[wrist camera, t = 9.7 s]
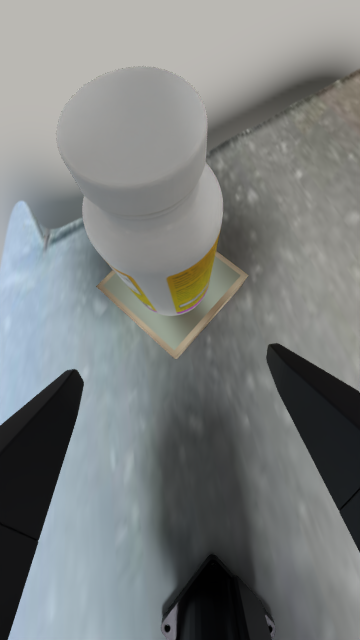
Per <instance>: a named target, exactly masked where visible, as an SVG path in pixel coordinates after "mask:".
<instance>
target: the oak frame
mask: <svg viewBox="0 0 360 640" xmlns="http://www.w3.org/2000/svg"><path fill="white" fill-rule="evenodd" d="M247 277H248V275H247V274H246V273H245V272H243V271H242V270H241V269H239V268H238V267H237V266H235V265H234V264H233V263H232V262H230V261H229V260H228V259H226V258H225V257H224V256H222V255H221V254H220V253H218V252H217V251H216V253H215V258H214V263H213V268H212V272H211V277H210V282H209V286H208V290H207V292H206V294H205V296H204V298H203V300H202V301H201V302H200V303H199V304H198V305H197V306H196V307H195V308H194V309H192V310H191V311H189V312H187V313H184V314H181V315H176V316H165V315H161V314H158V313H155V312H153V311H151V310H150V309H148V308H147V307H146V306H145V305H144V304H143V303H142V302H141V301H140V300H139V299H138V298H137V297H136V295H135V294H134V293H133V292H132V291H131V290H130V289H129V287H128V286H127V285H126V284H125V283H124V281H123V280H122V279H121V278H120V277H119V276H118V275H117V273H116V272H115V271H114V270H112V271H111V272H110V273H109V274H108V275H107V276H106V277H105V278H104V279H103V280H102V281H101V282H100V283H99V284H98V285H97V286H96V287H97V288H98V289H100V290H101V291H102V292H103V293H104V294H105V295H106V296H107V297H108V298H109V299H110V300H111V301H113V302H114V303H115V304H116V305H117V306H118V307H119V308H120V309H121V310H122V311H123V312H125V313H126V314H127V315H128V316H129V317H130V318H131V319H132V320H133V321H134V322H135V323H136V324H138V325H139V326H140V327H141V328H142V329H143V330H144V331H145V332H146V333H147V334H148V335H150V336H151V337H152V338H153V339H154V340H155V341H156V342H157V343H158V344H159V345H160V346H161V347H163V348H164V349H165V350H166V351H167V352H168V353H169V354H170V355H171V356H172V357H173V358H174V359H178V357H179V356H180V355H181V354H182V353H183V352H184V351H185V350H186V348H187V347H188V346H189V345H190V344H191V343H192V342H193V340H194V339H195V338H196V337H197V336H198V335H199V334H200V332H201V331H202V330H203V329H204V328H205V327H206V326H207V325H208V323H209V322H210V321H211V320H212V319H213V318H214V317H215V315H216V314H217V313H218V312H219V311H220V310H221V309H222V308H223V306H224V305H225V304H226V303H227V302H228V301H229V300H230V298H231V297H232V296H233V295H234V294H235V293H236V292H237V291H238V289H239V288H240V287H241V286H242V284H243V283H244V281H245V280H246V278H247Z"/></svg>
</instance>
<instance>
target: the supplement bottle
mask: <svg viewBox="0 0 360 640" xmlns="http://www.w3.org/2000/svg"><path fill="white" fill-rule="evenodd" d="M57 145H58V149H59V152H60V155H61V157H62V159H63V161H64V163H65V165H66V166H67V168H68V169H69V171H70V173H71V174H72V176H73V178H74V179H75V181H76V183H77V185H78V187H79V188H80V190H81V192H82V193H83V194H84V199H83V207H82V213H83V222H84V226H85V229H86V232H87V235H88V238H89V239H90V241H91V243H92V245H93V246H94V248H95V249H96V250H97V252H98V253H99V254H100V255H101V256H102V258H103V259H104V260H105V261H106V262H107V263H108V264H109V266H110V267H111V268H112V269H113V270H114V271H115V272H116V273H117V275H118V276H119V277H120V278H121V279H122V280H123V281H124V283H125V284H126V285H127V286H128V287H129V289H130V290H131V291H132V292H133V293H134V294H135V295H136V297H137V298H138V299H139V300H140V301H141V302H142V303H143V304H144V305H145V306H146V307H147V308H148V309H150V310H151V311H153V312H155V313H158V314H161V315H165V316H176V315H181V314H184V313H187V312H189V311H191V310H192V309H194V308H195V307H196V306H197V305H198V304H199V303H200V302H201V301H202V300H203V298H204V296H205V294H206V292H207V290H208V286H209V282H210V277H211V272H212V268H213V263H214V258H215V253H216V248H217V243H218V239H219V234H220V230H221V224H222V217H223V197H222V192H221V188H220V185H219V183H218V180H217V178H216V176H215V174H214V173H213V171H212V170H211V168H210V167H209V166H208V165H207V163H206V150H207V114H206V109H205V106H204V103H203V101H202V99H201V97H200V95H199V93H198V92H197V91H196V89H195V88H194V87H193V86H192V85H191V84H190V83H189V82H187V81H186V80H185V79H183V78H182V77H180V76H178V75H176V74H174V73H172V72H169V71H167V70H163V69H159V68H155V67H128V68H122V69H118V70H115V71H112V72H108V73H105V74H103V75H101V76H98V77H96V78H95V79H93V80H92V81H90V82H88V83H87V84H85V85H84V86H83V87H81V88H80V89H79V90H78V91H77V92H76V94H74V95H73V96H72V97H71V98H70V100H69V101H68V103H67V104H66V105H65V107H64V109H63V111H62V113H61V115H60V118H59V121H58V126H57Z"/></svg>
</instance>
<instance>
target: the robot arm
mask: <svg viewBox="0 0 360 640" xmlns="http://www.w3.org/2000/svg"><path fill="white" fill-rule="evenodd" d="M266 359H267V363H268V366H269V369H270V371H271V374H272V377H273V379H274V382H275V385H276V387H277V390H278V392H279V394H280V397H281V399H282V400H283V402H284V404H285V406H286V408H287V410H288V412H289V414H290V416H291V418H292V420H293V422H294V424H295V426H296V428H297V430H298V432H299V434H300V436H301V438H302V440H303V442H304V444H305V446H306V447H307V449H308V451H309V453H310V455H311V457H312V459H313V461H314V463H315V465H316V467H317V469H318V471H319V473H320V475H321V477H322V479H323V481H324V483H325V485H326V487H327V489H328V491H329V493H330V495H331V496H332V498H333V500H334V502H335V504H336V506H337V508H338V510H339V512H340V514H341V516H342V518H343V520H344V522H345V524H346V526H347V528H348V530H349V532H350V534H351V536H352V538H353V540H354V542H355V544H356V546H357V548H358V550H359V552H360V393H359V391H358V390H356V389H354V388H353V387H351V386H349V385H348V384H346V383H344V382H342V381H341V380H339V379H337V378H336V377H334V376H332V375H331V374H329V373H327V372H326V371H324V370H322V369H321V368H319V367H317V366H316V365H314V364H312V363H311V362H309V361H307V360H306V359H304V358H302V357H301V356H299V355H297V354H296V353H294V352H292V351H290V350H289V349H287V348H285V347H284V346H282V345H280V344H278V343H275V344H269V345H268V349H267V356H266ZM83 386H84V382H83V379H82V378H81V376H80V374H79V372H78V371H77V370H76V369H72V370H67V371H65V372H64V373H63V374H62V375H60V376H59V377H58V378H57V379H56V380H54V381H53V382H52V383H51V384H50V385H48V386H47V387H46V388H45V389H44V390H42V391H41V392H40V393H39V394H38V395H36V396H35V397H34V398H33V399H32V400H30V401H29V402H28V403H27V404H26V405H24V406H23V407H22V408H21V409H20V410H18V411H17V412H16V413H15V414H14V415H12V416H11V417H10V418H9V419H8V420H6V421H5V422H4V423H3V424H2V425H0V640H8V637H9V634H10V631H11V628H12V624H13V621H14V618H15V615H16V612H17V609H18V605H19V602H20V599H21V596H22V593H23V589H24V586H25V583H26V580H27V577H28V573H29V570H30V567H31V564H32V561H33V557H34V554H35V551H36V548H37V545H38V540H39V538H40V534H41V531H42V528H43V525H44V522H45V518H46V515H47V512H48V509H49V506H50V502H51V499H52V496H53V493H54V490H55V486H56V483H57V480H58V477H59V474H60V470H61V467H62V464H63V461H64V458H65V454H66V451H67V448H68V445H69V442H70V438H71V435H72V432H73V429H74V426H75V422H76V419H77V415H78V411H79V406H80V401H81V396H82V391H83ZM212 563H214V564H215V565H214V566H212V565H211V564H212ZM166 624H169V626H167V625H166ZM268 625H270V626H268ZM161 631H162V633H163V635H164V636H165V637H166V638H167V640H272V638H273V637H274V635H275V633H276V628H275V624H274V621H273V619H272V617H271V616H270V615H269V614H268V612H267V611H266V610H265V609H264V608H263V606H262V603H261V602H260V600H259V599H258V598H257V597H256V596H255V595H254V594H253V593H252V592H251V591H250V590H249V588H248V587H247V586H246V585H245V584H244V583H243V582H242V581H241V580H240V579H239V578H238V576H235V575H233V574H232V573H231V572H230V571H229V570H228V569H227V568H226V566H225V565H224V564H223V563H222V562H221V561H220V560H219V559H218V558H217V557H216V556H215V555H210V556H209V557H208V558H207V559H206V561H205V562H204V563H203V564H202V566H201V567H200V568H199V570H198V571H197V572H196V574H195V575H194V576H193V578H192V579H191V580H190V582H189V583H188V584H187V586H186V587H185V588H184V590H183V591H182V592H181V594H180V595H179V596H178V597H177V599H176V600H175V601H174V603H173V604H172V605H171V607H170V608H169V609H168V611H167V612H166V613H165V615H164V616H163V618H162V624H161Z"/></svg>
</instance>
